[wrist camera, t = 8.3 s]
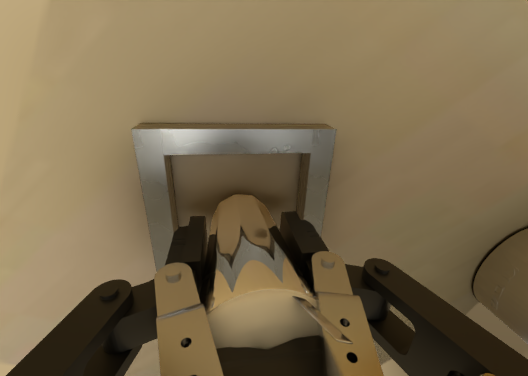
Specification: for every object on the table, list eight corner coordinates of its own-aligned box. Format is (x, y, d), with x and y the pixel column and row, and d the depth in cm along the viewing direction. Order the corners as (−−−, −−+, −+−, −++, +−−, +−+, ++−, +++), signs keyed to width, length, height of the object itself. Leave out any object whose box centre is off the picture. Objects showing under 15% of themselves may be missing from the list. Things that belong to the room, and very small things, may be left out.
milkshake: (297, 187, 15) (421, 357, 6) (257, 257, 17) (307, 473, 8) (226, 157, 14) (248, 322, 5) (189, 236, 15) (152, 475, 6)
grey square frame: (325, 124, 15) (336, 129, 13) (307, 262, 19) (314, 277, 17) (140, 123, 13) (131, 129, 12) (164, 274, 17) (160, 292, 16)
